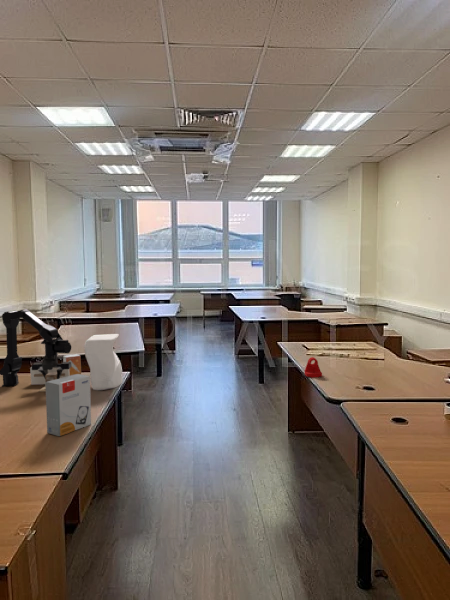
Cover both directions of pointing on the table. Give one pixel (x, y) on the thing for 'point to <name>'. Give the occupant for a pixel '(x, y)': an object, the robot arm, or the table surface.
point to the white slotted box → (39, 378)
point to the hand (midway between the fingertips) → (52, 382)
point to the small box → (73, 363)
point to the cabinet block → (51, 376)
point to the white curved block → (103, 362)
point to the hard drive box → (68, 404)
